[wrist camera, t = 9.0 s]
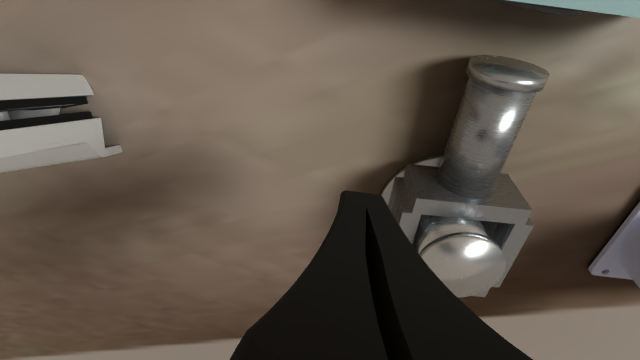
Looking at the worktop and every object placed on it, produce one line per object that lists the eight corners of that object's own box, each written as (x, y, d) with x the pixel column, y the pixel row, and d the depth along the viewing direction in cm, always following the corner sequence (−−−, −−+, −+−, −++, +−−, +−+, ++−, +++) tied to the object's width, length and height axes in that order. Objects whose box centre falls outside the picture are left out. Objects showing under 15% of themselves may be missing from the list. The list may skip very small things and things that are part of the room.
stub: (523, 163, 22) (570, 223, 17) (476, 255, 26) (503, 322, 22) (392, 146, 22) (405, 203, 17) (367, 242, 26) (372, 307, 22)
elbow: (475, 254, 26) (493, 298, 22) (377, 244, 25) (381, 286, 22) (565, 62, 18) (611, 89, 15) (425, 48, 18) (442, 71, 15)
